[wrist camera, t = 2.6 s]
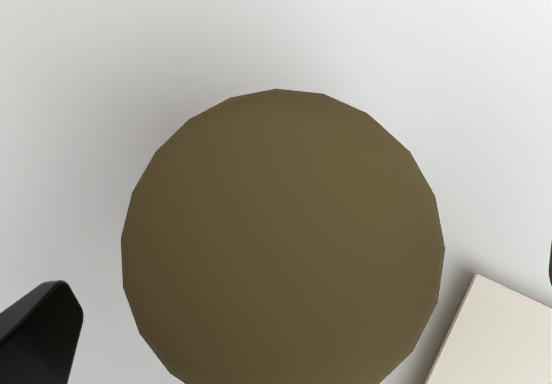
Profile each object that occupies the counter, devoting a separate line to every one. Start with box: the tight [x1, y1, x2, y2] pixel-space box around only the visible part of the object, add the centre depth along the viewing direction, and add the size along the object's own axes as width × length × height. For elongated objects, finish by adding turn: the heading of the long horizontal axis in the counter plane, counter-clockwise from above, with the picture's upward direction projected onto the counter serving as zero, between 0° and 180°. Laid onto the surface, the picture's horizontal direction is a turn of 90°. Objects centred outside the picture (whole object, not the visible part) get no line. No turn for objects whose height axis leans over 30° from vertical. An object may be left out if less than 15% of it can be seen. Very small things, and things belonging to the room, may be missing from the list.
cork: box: [121, 89, 445, 384], centre depth 12 cm, size 6×6×11 cm
